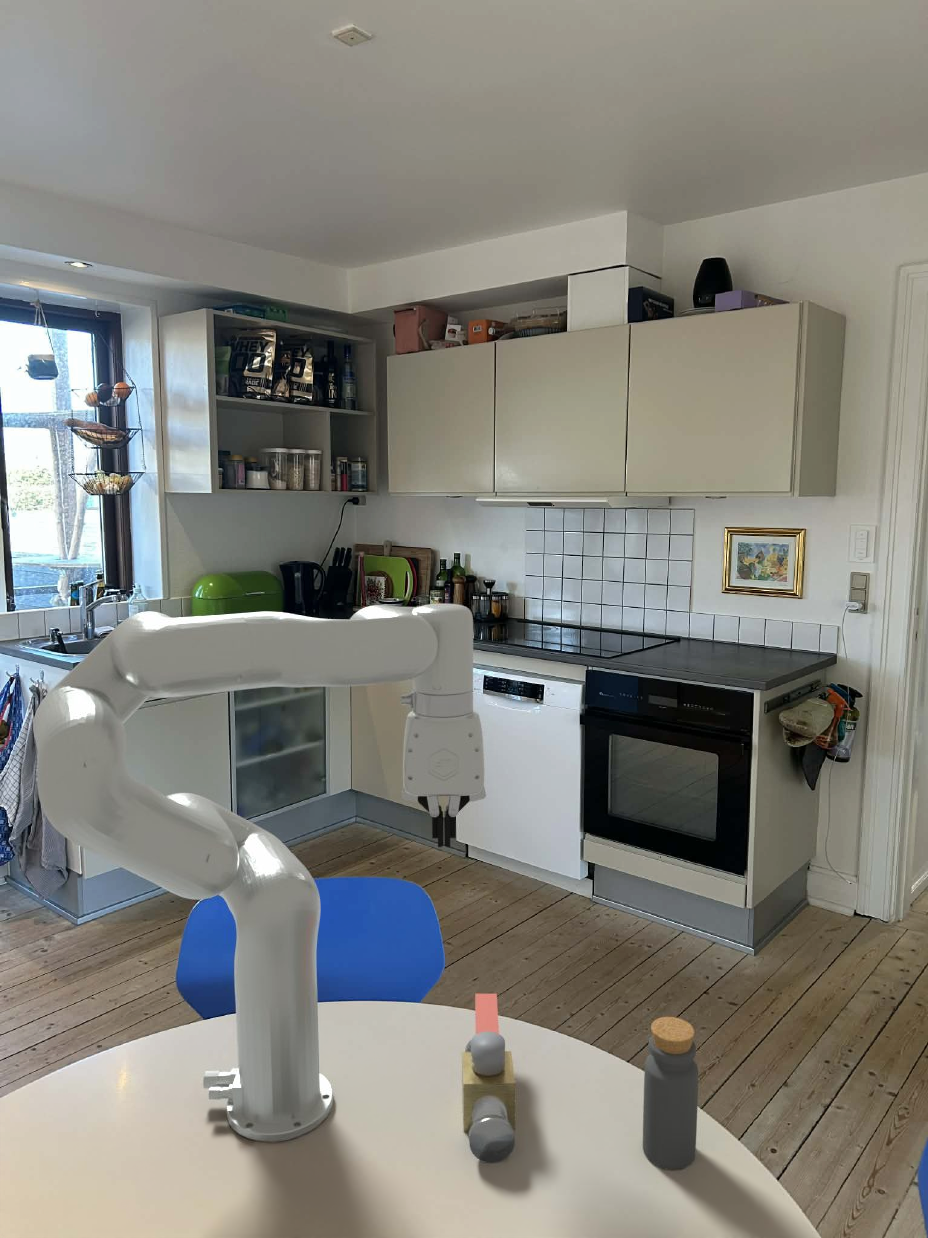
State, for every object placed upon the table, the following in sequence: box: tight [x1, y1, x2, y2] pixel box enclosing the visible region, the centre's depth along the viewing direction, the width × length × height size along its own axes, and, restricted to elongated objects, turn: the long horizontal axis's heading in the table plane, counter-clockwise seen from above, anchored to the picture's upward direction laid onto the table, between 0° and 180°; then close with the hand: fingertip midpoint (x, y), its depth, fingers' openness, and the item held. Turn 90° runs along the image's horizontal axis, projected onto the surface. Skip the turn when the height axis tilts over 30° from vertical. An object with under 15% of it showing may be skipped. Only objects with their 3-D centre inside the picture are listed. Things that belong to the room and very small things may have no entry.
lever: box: [470, 993, 506, 1076], centre depth 113 cm, size 14×4×3 cm, turn 0°
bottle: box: [642, 1016, 699, 1171], centre depth 102 cm, size 6×6×15 cm
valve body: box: [461, 1038, 516, 1164], centre depth 109 cm, size 6×16×6 cm, turn 2°
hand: (443, 843), depth 117 cm, fingers closed
